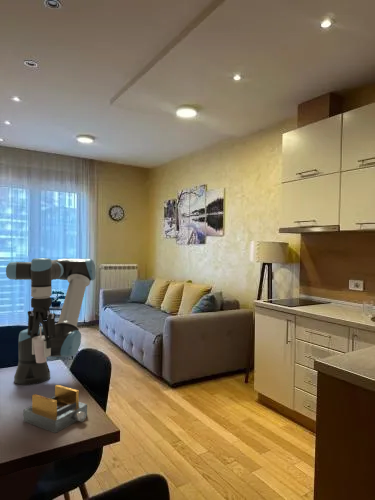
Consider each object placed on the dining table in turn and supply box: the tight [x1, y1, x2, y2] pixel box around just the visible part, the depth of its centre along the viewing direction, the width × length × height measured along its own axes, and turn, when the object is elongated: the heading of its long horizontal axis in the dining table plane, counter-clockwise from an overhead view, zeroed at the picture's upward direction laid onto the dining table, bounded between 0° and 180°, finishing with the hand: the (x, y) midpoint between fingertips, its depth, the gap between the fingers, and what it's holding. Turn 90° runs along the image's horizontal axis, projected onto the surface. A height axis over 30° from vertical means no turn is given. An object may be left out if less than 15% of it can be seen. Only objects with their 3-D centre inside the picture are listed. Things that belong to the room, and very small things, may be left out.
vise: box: [22, 384, 88, 434], centre depth 124 cm, size 19×14×9 cm
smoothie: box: [33, 325, 47, 363], centre depth 140 cm, size 6×6×14 cm
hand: (41, 354), depth 140 cm, fingers closed on smoothie, 6 cm apart
